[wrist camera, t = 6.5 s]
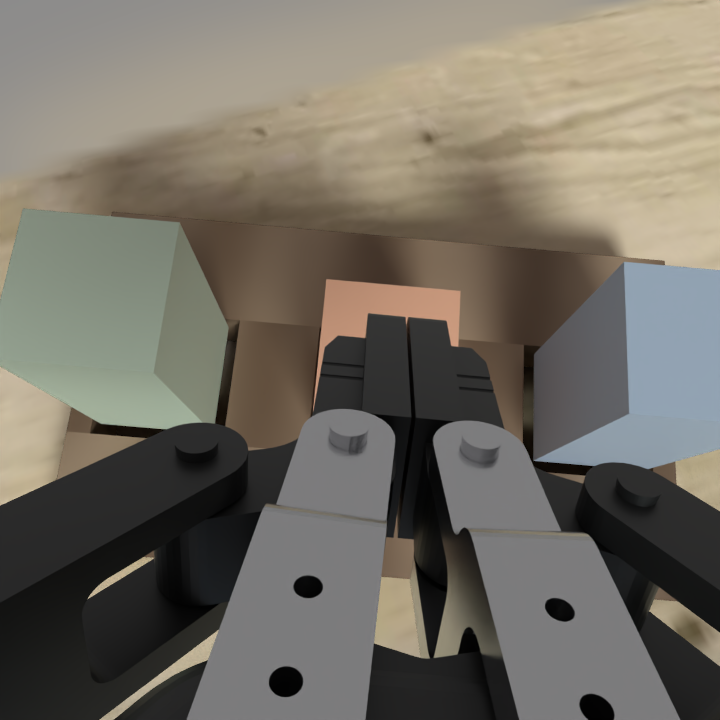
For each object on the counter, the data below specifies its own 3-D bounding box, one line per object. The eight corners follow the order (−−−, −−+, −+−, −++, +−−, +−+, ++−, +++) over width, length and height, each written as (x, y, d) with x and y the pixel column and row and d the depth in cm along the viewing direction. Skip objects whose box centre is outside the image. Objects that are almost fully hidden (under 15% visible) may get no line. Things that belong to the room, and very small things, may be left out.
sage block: (228, 327, 28) (179, 222, 19) (213, 433, 26) (153, 372, 18) (121, 318, 27) (22, 208, 19) (100, 423, 26) (-15, 358, 18)
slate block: (639, 363, 28) (777, 275, 19) (644, 470, 26) (793, 427, 18) (534, 354, 28) (623, 261, 19) (533, 460, 26) (628, 413, 18)
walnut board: (634, 287, 32) (664, 260, 29) (647, 597, 28) (682, 601, 25) (132, 243, 32) (112, 211, 29) (72, 549, 28) (42, 548, 25)
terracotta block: (425, 366, 31) (460, 290, 22) (420, 462, 29) (454, 422, 21) (329, 357, 31) (326, 279, 22) (319, 453, 29) (312, 410, 21)
